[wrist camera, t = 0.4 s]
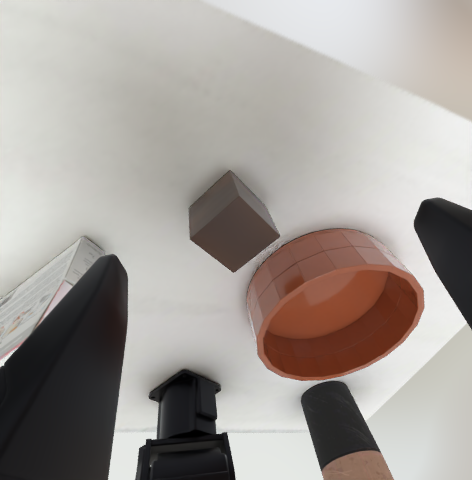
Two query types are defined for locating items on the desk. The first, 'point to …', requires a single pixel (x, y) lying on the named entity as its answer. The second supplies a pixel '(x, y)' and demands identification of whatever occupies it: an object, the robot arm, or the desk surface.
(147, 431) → the desk surface
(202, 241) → the block
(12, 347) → the ink cartridge box
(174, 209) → the desk surface
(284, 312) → the bowl
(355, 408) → the travel mug
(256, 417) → the desk surface
